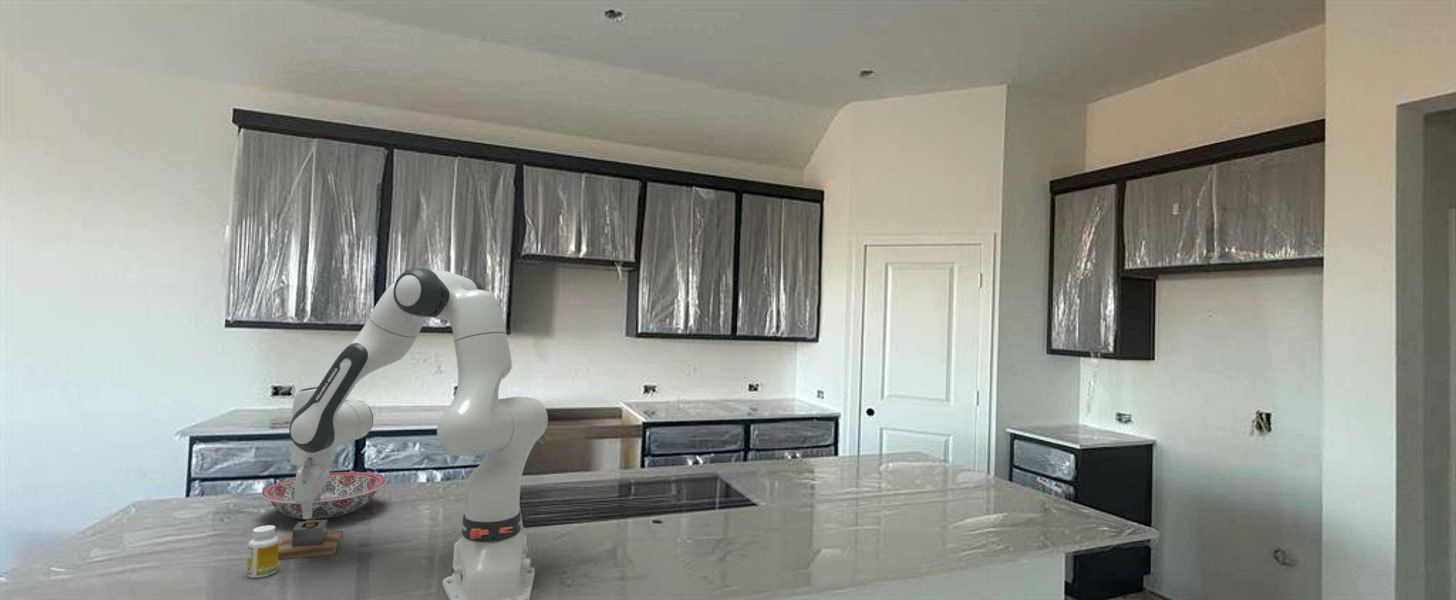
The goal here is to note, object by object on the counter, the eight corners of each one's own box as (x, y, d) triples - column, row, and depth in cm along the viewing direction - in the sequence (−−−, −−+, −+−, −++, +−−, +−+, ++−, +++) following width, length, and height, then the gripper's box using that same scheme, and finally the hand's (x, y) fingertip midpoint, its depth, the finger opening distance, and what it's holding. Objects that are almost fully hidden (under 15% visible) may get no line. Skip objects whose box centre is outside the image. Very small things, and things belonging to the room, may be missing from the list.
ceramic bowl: (377, 527, 167) (378, 496, 167) (243, 538, 157) (244, 505, 157) (391, 495, 194) (392, 469, 195) (277, 503, 184) (278, 475, 184)
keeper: (334, 553, 149) (335, 526, 149) (272, 560, 144) (273, 531, 144) (342, 536, 160) (343, 510, 160) (285, 541, 155) (286, 515, 155)
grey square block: (322, 544, 150) (322, 527, 151) (291, 547, 148) (292, 530, 148) (326, 535, 156) (327, 519, 156) (297, 538, 154) (298, 521, 154)
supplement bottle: (283, 568, 140) (285, 524, 140) (266, 578, 135) (268, 532, 135) (258, 567, 140) (260, 523, 140) (240, 578, 135) (242, 532, 135)
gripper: (320, 462, 144) (318, 524, 143) (335, 444, 162) (334, 499, 162) (287, 464, 141) (285, 527, 141) (306, 446, 160) (304, 502, 160)
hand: (311, 512), depth 152 cm, fingers open, 8 cm apart
